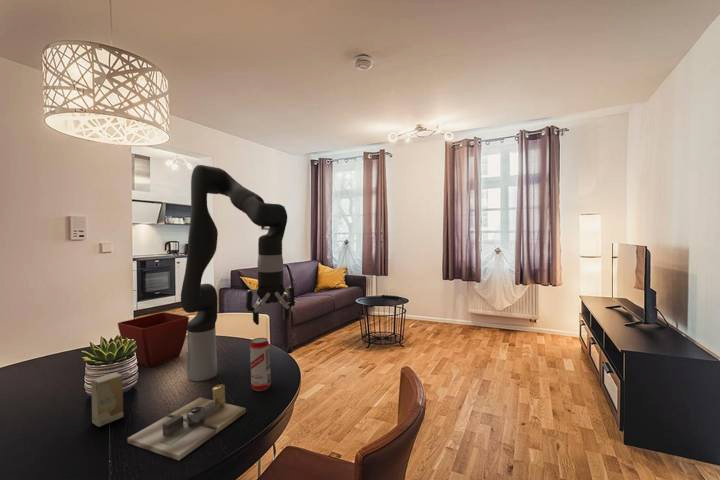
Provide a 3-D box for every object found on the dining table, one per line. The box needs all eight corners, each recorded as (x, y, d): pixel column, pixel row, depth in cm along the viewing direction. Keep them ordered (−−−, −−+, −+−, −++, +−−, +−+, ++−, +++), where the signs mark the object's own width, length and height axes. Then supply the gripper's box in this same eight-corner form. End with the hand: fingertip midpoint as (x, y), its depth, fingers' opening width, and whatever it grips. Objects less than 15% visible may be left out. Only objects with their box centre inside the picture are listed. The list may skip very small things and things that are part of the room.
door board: (127, 442, 85) (126, 426, 85) (200, 401, 105) (199, 387, 105) (178, 460, 78) (178, 442, 78) (246, 412, 98) (245, 397, 98)
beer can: (265, 392, 110) (263, 343, 109) (247, 391, 111) (246, 342, 111) (274, 384, 116) (272, 337, 116) (257, 382, 117) (255, 336, 117)
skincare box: (98, 427, 92) (96, 383, 92) (91, 423, 95) (89, 379, 94) (125, 416, 98) (123, 374, 97) (117, 412, 100) (115, 371, 100)
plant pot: (145, 373, 128) (143, 328, 127) (118, 364, 137) (116, 322, 137) (191, 355, 145) (190, 316, 144) (165, 349, 154) (163, 311, 153)
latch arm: (195, 426, 88) (194, 405, 88) (183, 423, 90) (182, 402, 90) (229, 404, 99) (228, 385, 99) (217, 402, 101) (217, 383, 100)
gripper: (289, 266, 110) (290, 316, 111) (244, 269, 104) (244, 322, 104) (297, 269, 104) (297, 322, 104) (248, 272, 97) (249, 328, 98)
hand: (271, 322), depth 104 cm, fingers open, 8 cm apart
